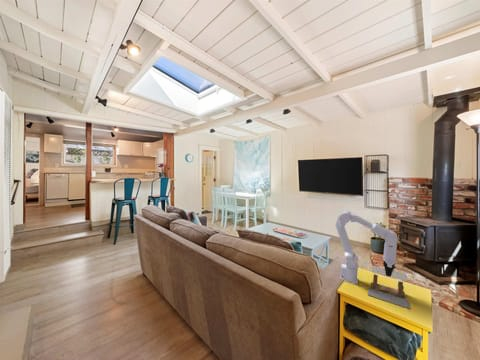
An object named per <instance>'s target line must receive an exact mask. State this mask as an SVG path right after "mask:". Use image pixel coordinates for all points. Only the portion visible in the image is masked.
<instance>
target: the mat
mask: <svg viewBox="0 0 480 360" xmlns="http://www.w3.org/2000/svg"><path fill="white" fill-rule="evenodd" d="M367 296H369V297H372V298H375V299H379V300H381V301H384V302H387V303H390V304H394V305H396V306H399V307H402V308H406V309H408V310H410V309H411V308H410V304H409V299H406V298H402V297H398V296H395V295H392V294H389V293H386V292H382V291H379V290H376V289H373V288H371V287H368V291H367Z"/></svg>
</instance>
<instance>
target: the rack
mask: <svg viewBox="0 0 480 360" xmlns="http://www.w3.org/2000/svg"><path fill="white" fill-rule="evenodd" d="M378 275H379V274H376V273H375V274H373V277H372V279H373V280H372V281H371V282H370V288H371V289H374V290H377V291H381V292H384V293H387V294H390V295H393V296H397V297H400V298H403V299H406V293H405V291H404V289H405V288H404V281H402V280H398V282H397V283H398V284H397V288H393V287H391V286H387V285H383V284H381V283H378Z"/></svg>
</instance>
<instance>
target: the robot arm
mask: <svg viewBox="0 0 480 360" xmlns="http://www.w3.org/2000/svg"><path fill="white" fill-rule="evenodd" d="M349 222H350V223H357V224H360V225H362V226H364V227H366V228H368V229H370V232H371V233H374V234H375V235H377V236H378V237H380V238H382V239H384V240H385V241H384V244H383V247H384V248H383V256H382V257H383V258H382V262H383V263H382V264H383V265H382V266H383V268H385V272H386V277H389V278H392V277H391V275H392V272H393V271H395V270H394V269H396V264H398V263H399V260H397V247H398V246H397V243H398V241H399V238H398V235H397V233H396V232H395V231H393V230H391V229H390V228H385V227H384V226H382V224H380V223H371V222H370V221H368V220H367V219H364V218H363V217H362V216H359V215H358V214H356V213H354V212H351V211H349V210H343V211H342V212H341V213H340V214H339V215H338V217H337V220H336V223H335V229H336V231H337V234H338V236H339V240H340V243H341V246H342V249H343V252H344V259H345V261H344V262H345V263H341V268H340V276H339V277H340V278H339V279H340V280H342V281H345V282H348V283H351V284H354V285H358V281H359V278H358V273H359V272H358V270H359V266H358V265H357V264H358V262H359V258H358V256H357V255H356V254H355V251H354V250H353V247H352V244H351V241H350V238H349V236H348V232H347V230H346V225H347V224H348V223H349Z"/></svg>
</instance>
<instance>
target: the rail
mask: <svg viewBox="0 0 480 360" xmlns="http://www.w3.org/2000/svg"><path fill="white" fill-rule="evenodd" d="M371 272H372V273H375V274H377V275H382V276H386V272H385V267H381V266H377V265H372V267H371ZM386 277H387V276H386ZM390 278H393V279H397V280H399V281H402V282H408V280H407V278H408V275H407V273H404V272H400V271H396V270H393V272H392V275H391V277H390Z"/></svg>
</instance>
